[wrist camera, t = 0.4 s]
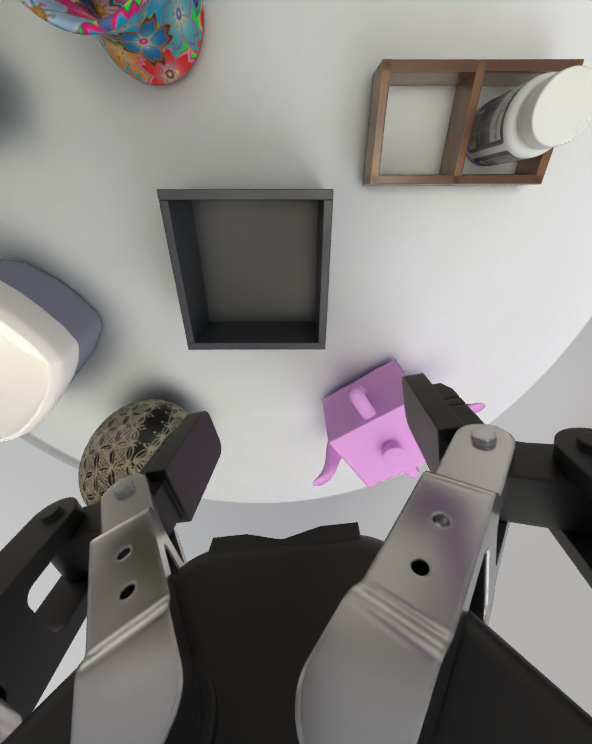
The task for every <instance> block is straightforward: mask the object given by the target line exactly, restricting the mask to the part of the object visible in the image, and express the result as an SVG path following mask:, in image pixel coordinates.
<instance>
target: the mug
mask: <svg viewBox="0 0 592 744" xmlns="http://www.w3.org/2000/svg"><path fill="white" fill-rule="evenodd" d="M19 1H21V2H22V3H23V4H24V5H25V6H26V7H27V8H29V9H30V10H31V11H32V12H34V13H35V14H36V15H38V16H39V17H41V18H42V19H44V20H45V21H47V22H49V23H50V24H52V25H54V26H56V27H58V28H61V29H63V30H66V31H69V32H72V33H77V34H82V35H97V37H98V39H99V41H100V42H101V44H102V46H103V47H104V49H105V50H106V52H107V53H108V55H109V56H110V57H111V58H112V60H113V61H114V62H115V63H116V64H117V65H118V66H119V67H120V68H121V69H122V70H124V71H125V72H126V73H127V74H129V75H130V76H132V77H134V78H135V79H137V80H139V81H142V82H145V83H148V84H154V85H163V84H168V83H171V82H174V81H176V80H178V79H179V78H181V77H182V76H183V75H184V74H185V73H186V72H187V71H188V70H189V69H190V68H191V66H192V65H193V63H194V61H195V59H196V57H197V55H198V52H199V49H200V46H201V42H202V37H203V27H204V12H203V2H202V0H19Z"/></svg>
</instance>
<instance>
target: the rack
mask: <svg viewBox="0 0 592 744" xmlns="http://www.w3.org/2000/svg"><path fill="white" fill-rule="evenodd" d="M583 61H584V59H480V60H391V59H383V60H382V61H381V63H380V65H379V66H378V68H377V69H376V71H375V73H374V74H373V82H372V92H371V103H370V114H369V124H368V135H367V146H366V157H365V167H364V178H363V186H521V185H536V184H541V183H542V180H543V177H544V174H545V171H546V168H547V165H548V162H549V160H550V157H551V154H552V151H553V148H554V147H552V148H551V149H549V150H548V151H546V152H545V153H543V154H541V155H539V156H536V157H533V158H528V159H523V160H519V162H518V166H517V169H516V172H515V174H489V175H461V174H462V170H463V165H464V161H465V157H466V152H467V148H468V143H469V139H470V135H471V130H472V126H473V122H474V117H475V113H476V109H477V104H478V100H479V96H480V91H481V87H482V86H519V85H521V84H523V83H525V82H527V81H529V80H531V79H532V78H534V77H536V76H538V75H540V74H544V73H548V72H560V71H562V70H564V69H566V68H569V67H572V66H578V65H579V66H582V64H583ZM389 86H457V89H456V94H455V99H454V104H453V109H452V114H451V119H450V124H449V129H448V134H447V139H446V145H445V150H444V155H443V160H442V165H441V170H440V175H379V167H380V159H381V150H382V141H383V132H384V124H385V115H386V106H387V97H388V89H389Z"/></svg>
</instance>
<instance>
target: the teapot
mask: <svg viewBox="0 0 592 744" xmlns="http://www.w3.org/2000/svg"><path fill="white" fill-rule="evenodd" d="M404 376H406V375H405V374H404V372H403V371H402V369H401V367H400V366H399V364H398V363H397V361H396V360H395V359H394V360H392V361H390V362H389V363H387V364H385V365H383V366H379V367H377V368H375V369H374V370H373V371H372V372H371V373H369V374H367V375H365V376H364V377H362V378H360V379H358V380H357V381H355V382H353V383H351V384H349V385H348V386H346V387H341V388H339V389H338V390H337V392H335V393H333V394H332V395H330V396H328V397H326V398H325V399H323V406H324V413H325V421H326V428H327V435H328V443H327V449H326V460H325V465H324V468H323V470H322V472H321V474H320V475H319V476H318V477H317V478H316V479H315V480H314V482H313V485H314V486H320V485H322V484H324V483H326V482H328V481H329V480H330V479H331V478H332V477H333V475H334V473H335V472H336V469H337V467H338V464H339V461H340V459H341V458H343V459H344V460H345V461H346V463H347V464H348V465H349V466H350V467H351V468H352V470H353V471H354V472H355V473H356V474H357V475H358V476H359V478H360V479H361V480H362V481H363V482H364V483H365V485H366V486H367V487H370V486H372V485H375V484H377V483H380V482H382V481H384V480H387V479H389V478H391V477H393V476H396V475H398V474H400V473H403V472H404V473H405V475H407V476H408V477H410V478H414V477H416V476H418V474H419V470H418V468H417V466H419V465H421V464H423V463H425V462H426V461H425V459H424V457H423V455H422V453H421V451H420V449H419V447H418V445H417V443H416V441H415V439H414V437H413V435H412V433H411V431H410V429H409V426H408V424H407V420H406V416H405V408H404V398H403V388H402V377H404ZM467 405H468V406H469V408H470V409H471V410H472V411H473V412H474V413H477V412H479V411H481V410H482V409H483V408H484V407H485V404H484V403H474V404H467Z"/></svg>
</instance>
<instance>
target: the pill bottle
mask: <svg viewBox="0 0 592 744" xmlns="http://www.w3.org/2000/svg"><path fill="white" fill-rule="evenodd" d="M591 118H592V69H591V68H589V67H586V66H579V65H578V66H572V67H569V68H566V69H564V70H562V71H560V72H548V73H544V74H540V75H538V76H536V77H534V78H532V79H531V80H529V81H527V82H525V83H523V84H521V85H519V86H518V87H516V88H514V89H512V90H510V91H508V92H506V93H504V94H503V95H501V96H499V97H497V98H495V99H493V100H491V101H489V102H488V103H486V104H485V105H484V106H483V107H481V108H480V109H479V110H478V112H477V113H476V114H475V117H474V122H473V126H472V130H471V135H470V139H469V143H468V148H467V155H468V157H469V158H470V160H471V161H472V162H473V163H475V164H476V165H479V166H493V165H498V164H503V163H509V162H513V161H518V160H523V159H528V158H533V157H536V156H539V155H541V154H543V153H545V152H546V151H548V150H549V149H551V148H552V147H556V146H560V145H562V144H565V143H567V142H569V141H570V140H572V139H573V138H575V137H576V136H577V135H578V134H579V133H580V132H581V131H582V130H583V129H584V128H585V127H586V126H587V124H588V123H589V121H590V120H591Z"/></svg>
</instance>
